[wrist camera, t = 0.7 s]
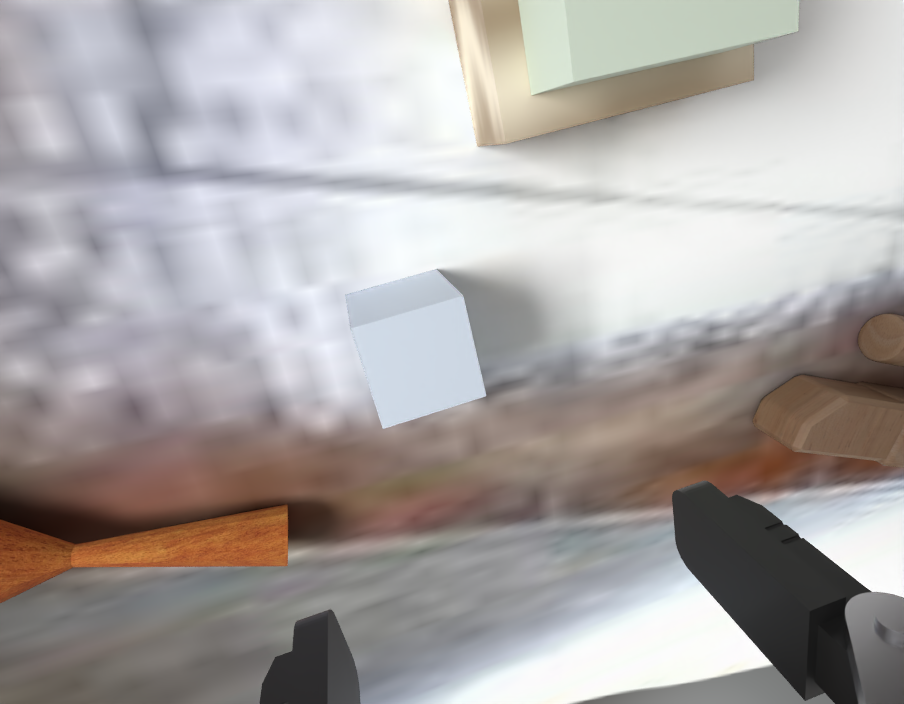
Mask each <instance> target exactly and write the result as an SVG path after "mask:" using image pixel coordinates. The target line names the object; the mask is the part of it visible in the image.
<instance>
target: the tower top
mask: <svg viewBox="0 0 904 704" xmlns="http://www.w3.org/2000/svg"><path fill="white" fill-rule="evenodd" d="M518 4H519V11H520V18H521V26H522V33H523V40H524V47H525V55H526V62H527V69H528V76H529V83H530V91H531V95H535V94H540V93H544V92H549V91H553V90H558V89H562V88H567V87H571V86H575V85H580V84H584V83H589V82H593V81H598V80H602V79H607V78H611V77H616V76H620V75H624V74H629V73H633V72H638V71H642V70H647V69H651V68H656V67H660V66H665V65H669V64H673V63H678V62H682V61H687V60H691V59H696V58H700V57H705V56H709V55H714V54H718V53H722V52H726V51H730V50H733V49H737V48H741V47H744V46H748V45H751V44H755V43H759V42H762V41H766V40H770V39H773V38H777V37H780V36H784V35H788V34H791V33H795V32H798V25H799V0H518Z"/></svg>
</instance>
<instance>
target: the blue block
mask: <svg viewBox="0 0 904 704" xmlns="http://www.w3.org/2000/svg"><path fill="white" fill-rule="evenodd" d="M345 297H346V303H347V310H348V316H349V323H350V329H351V332H352V335H353V338H354V341H355V344H356V348H357V351H358V354H359V357H360V360H361V363H362V366H363V369H364V372H365V375H366V378H367V381H368V384H369V387H370V391H371V394H372V397H373V400H374V403H375V406H376V409H377V412H378V415H379V418H380V421H381V424H382V427H383V429H384V428H387V427H391V426H394V425H397V424H400V423H403V422H406V421H409V420H413V419H416V418H419V417H422V416H425V415H428V414H431V413H435V412H438V411H441V410H444V409H447V408H450V407H453V406H457V405H460V404H463V403H466V402H469V401H472V400H475V399H479V398H482V397H485V396H486V392H485V388H484V384H483V379H482V375H481V371H480V366H479V362H478V357H477V353H476V349H475V344H474V340H473V336H472V331H471V327H470V322H469V318H468V314H467V309H466V305H465V301H464V296H463V295H462V294H461V293H460V292H459V291H458V290H457V289H456V288H455V287H454V286H453V285H452V284H451V283H450V282H449V281H448V280H447V279H446V278H445V277H444V276H443V275H442V274H441V273H440V272H439V271H438V270H437V269H435V270H431V271H428V272H424V273H421V274H417V275H414V276H410V277H407V278H403V279H400V280H396V281H393V282H389V283H385V284H382V285H378V286H375V287H371V288H368V289H364V290H361V291H357V292H354V293H350V294H347V295H345Z"/></svg>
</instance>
